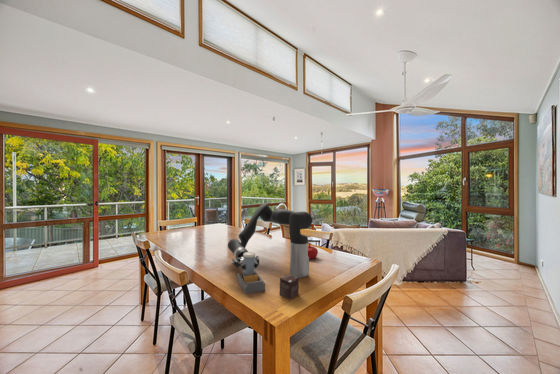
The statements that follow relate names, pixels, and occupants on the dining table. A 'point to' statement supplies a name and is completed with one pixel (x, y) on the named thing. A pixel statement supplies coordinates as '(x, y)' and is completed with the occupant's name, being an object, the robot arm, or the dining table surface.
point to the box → (289, 286)
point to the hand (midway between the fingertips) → (250, 266)
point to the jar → (249, 264)
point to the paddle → (250, 278)
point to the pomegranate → (312, 252)
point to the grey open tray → (251, 285)
